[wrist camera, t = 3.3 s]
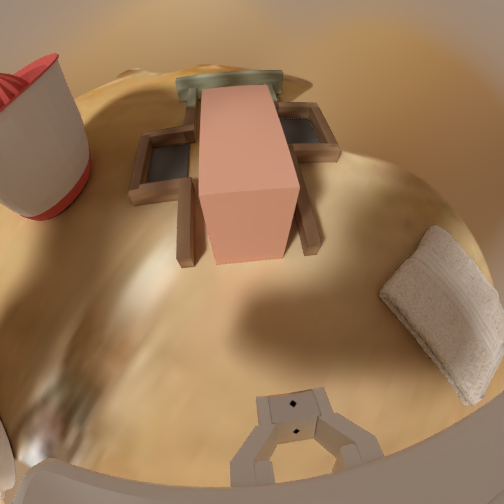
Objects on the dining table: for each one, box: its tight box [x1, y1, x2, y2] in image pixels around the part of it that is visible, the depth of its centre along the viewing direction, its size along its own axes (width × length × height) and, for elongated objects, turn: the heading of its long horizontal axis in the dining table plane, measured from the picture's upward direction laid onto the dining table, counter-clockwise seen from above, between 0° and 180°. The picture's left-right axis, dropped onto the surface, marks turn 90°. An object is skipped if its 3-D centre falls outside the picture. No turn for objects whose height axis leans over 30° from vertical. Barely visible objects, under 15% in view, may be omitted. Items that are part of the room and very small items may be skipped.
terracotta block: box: [199, 85, 300, 265], centre depth 23 cm, size 6×13×10 cm, turn 6°
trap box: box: [128, 70, 341, 268], centre depth 29 cm, size 24×29×4 cm
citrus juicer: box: [0, 53, 91, 221], centre depth 20 cm, size 16×17×20 cm
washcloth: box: [378, 225, 504, 406], centre depth 21 cm, size 12×18×3 cm, turn 39°
